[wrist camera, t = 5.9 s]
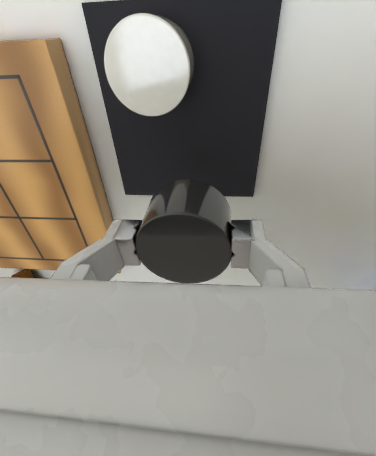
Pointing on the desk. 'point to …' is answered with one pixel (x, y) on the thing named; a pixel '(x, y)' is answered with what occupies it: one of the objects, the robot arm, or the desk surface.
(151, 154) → the stone mat
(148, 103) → the white stone
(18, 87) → the go board
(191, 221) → the black stone
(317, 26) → the desk surface
